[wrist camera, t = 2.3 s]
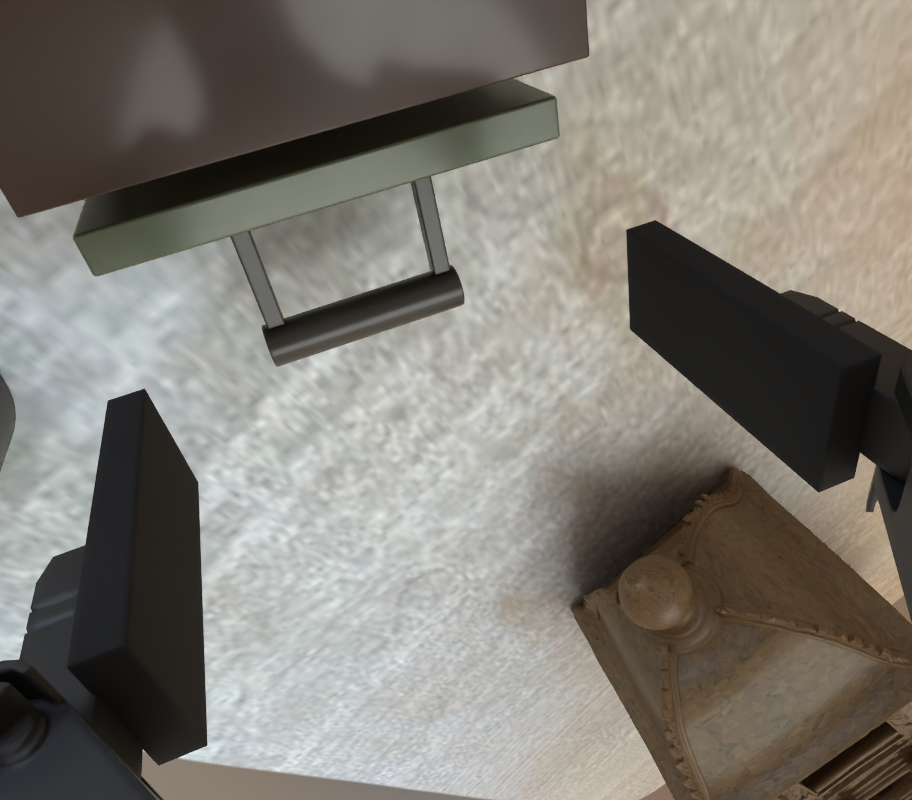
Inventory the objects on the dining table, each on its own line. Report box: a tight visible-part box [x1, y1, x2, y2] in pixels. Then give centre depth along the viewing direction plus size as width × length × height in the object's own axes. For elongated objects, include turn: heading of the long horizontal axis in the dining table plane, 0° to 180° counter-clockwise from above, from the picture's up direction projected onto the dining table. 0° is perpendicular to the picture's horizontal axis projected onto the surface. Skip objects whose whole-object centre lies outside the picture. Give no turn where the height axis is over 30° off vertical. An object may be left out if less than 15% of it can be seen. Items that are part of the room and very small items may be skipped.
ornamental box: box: [572, 468, 912, 800], centre depth 45 cm, size 35×18×18 cm, turn 42°
